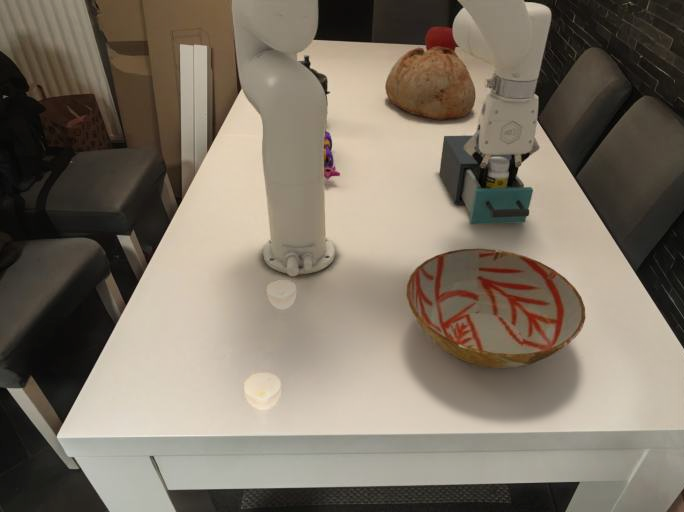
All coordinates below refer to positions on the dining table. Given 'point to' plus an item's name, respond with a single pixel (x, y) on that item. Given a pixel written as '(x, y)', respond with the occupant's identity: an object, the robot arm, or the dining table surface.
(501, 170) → the supplement bottle
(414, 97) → the bread
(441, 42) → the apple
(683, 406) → the dining table surface
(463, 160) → the drawer box
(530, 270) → the bowl
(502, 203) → the teal drawer
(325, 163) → the purple toy figure
